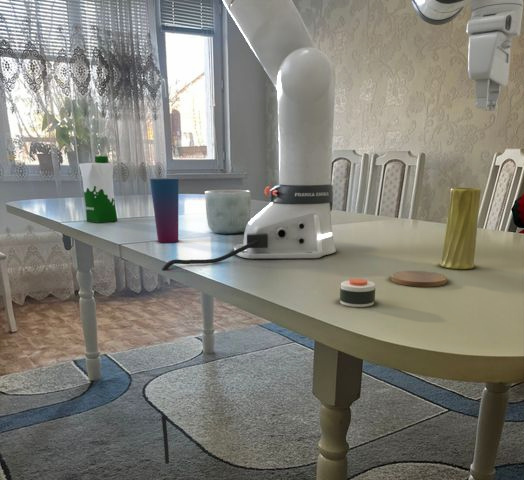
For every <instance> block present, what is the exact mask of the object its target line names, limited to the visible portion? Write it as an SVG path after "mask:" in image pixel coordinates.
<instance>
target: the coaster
mask: <svg viewBox="0 0 524 480" xmlns="http://www.w3.org/2000/svg"><path fill="white" fill-rule="evenodd" d="M391 281H392V282H393V283H395V284H398V285H403V286H406V287H407V286H408V287H419V288H433V287H434V288H435V287H439V286H444V285H446V284H447V283H448V276H446V275H445V274H442V273H438V272H434V271H433V272H432V271H424V270H402V271H397V272H394V273H392V274H391Z"/></svg>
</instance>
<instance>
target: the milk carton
mask: <svg viewBox="0 0 524 480" xmlns="http://www.w3.org/2000/svg"><path fill="white" fill-rule="evenodd" d="M114 164H115V163H113V162H109V157H108V156H106V155H105V156H104V155H103V156H102V155H100V156H99V155H96V156H94V162H85V163H78V166H79V169H80V174H81V179H82V187H83V195H84V204H85V215H86V217H85V218H86V222H89V223H96V224H101V223H103V224H104V223H110V222H118V214H117V209H116V208H117V207H116V201H115V189H114V179H113V177H114V176H113V175H114Z"/></svg>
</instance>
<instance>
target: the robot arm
mask: <svg viewBox="0 0 524 480" xmlns="http://www.w3.org/2000/svg"><path fill="white" fill-rule="evenodd" d="M410 1H411V3H412V6H413V8H414V9H415V11H416V14H417V15H418V16H419V18H420V19H421V20H422V21H424V22H425V23H427V24H430V25H433V26H441V25H445V24H446V25H447V24H448V23H450V22H452V21H454V20H455V19H456V18H457V17H459V15H460V14H461V12H462V11H463V9H464V7H469V8H470V9H471V11H470V12H471V13H470V19H469V20H468V21H467V24H466V34H467V36H468V52H467V53H468V55H467V57H468V58H467V69H468V71H467V72H468V77H469V79H470V80H472V81H474V82H475V97H476V101H475V107H476V109H486V111H488V112H494V111H496V110H497V108H498V102H499V97H500V95H501V91H502V90H501V88H503V87H504V88H505V87H506V86H508V82H509V76H510V66H511V53H512V52H511V51H512V49H511V47H512V42H513V41H512V40H515V39H517V38H519V37H520V36H521V30H522V29H521V28H522V21H523V11H524V0H410ZM222 2H223V4H224V6H225V7H226V9H227V11H228V13H229V14H230V16H231V17H232V19H233V21H234V23H235V25H237V27H238V29H239V31H240V32H241V34H242V35H243V37H244V38H245V41H246V42H247V43H248V45H249V47H250V49H251V50H252V52H253V53H254V55H255V56H256V58H257V60H258V61H259V63H260V65H261V66H262V67H263V70H264V72H265V73H266V74H267V76H268V77H269V79H270V81H271V83H272V84H273V86H274V88H275V89H276V91H277V125H278V126H277V128H278V184H276V185H275V186H273V187H272V186H270V185H269V186H266V187H265V188H264V190H263V192H264V194H265V195H266V197H269V204H268V205H266V206H265V207H264V208H263V209H262V210H260V211H259V212H258V213H257V214H255V215H254V216H253V217H252V218H250V221H249V222H248V223H247V225H246V228H245V231H244V232H243V241H242V242H243V243H241V244H240V243H238V244H236V245H234V247H233V251H231V252H228V253H226V254H223V255H221V256H219V257H216V258H207V259H171V260H169V261H167V262H166V263H165V264H164V266H163V267H161V271H162V272H163V271H164V272H165V271H167V270H168V269H169V268H170V267H171V266H174V265H205V264H206V265H209V264H216V263H219V262H223V261H225V260H227V259H230V258H231V257H234V256H238V257H240V258H245V259H252V260H253V259H319V258H321V257H323V256H326V255H331V254H334V253H336V252H337V249H336V246H335V245H336V244H335V239H334V235H333V234H334V233H333V226H332V211H333V205H334V186H333V184H332V164H333V163H332V162H333V139H334V137H333V136H334V116H335V99H336V98H335V97H336V96H335V95H336V71H335V67H334V64H333V62H332V61H331V59H330V58H329V56H327V54H325V53H324V52H323V51H322V50H320V49H318V47H317V45H316V43H315V42H314V39H313V38H312V36H311V34H310V32H309V30H308V28H307V26H306V23H305V22H304V20H303V18H302V15H301V13H300V11H299V10H298V8H297V7H296V5H295V3H294V1H293V0H222ZM166 416H167V415H161V425H162V436H163V451H164V464H165V465H168V464H170V454H169V438H168V437H169V436H168V426H167V417H166Z"/></svg>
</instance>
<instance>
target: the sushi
mask: <svg viewBox="0 0 524 480" xmlns="http://www.w3.org/2000/svg"><path fill="white" fill-rule="evenodd" d="M375 301H376V284H375V283H374V282H373V281H369V280H367V279H363V278H350V279H349V280H344V281H342V282H341V283H340V287H339V302H340V304H341V305H344V306H347V307H353V308H367V307H371V306H373V305H374V304H375Z"/></svg>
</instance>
